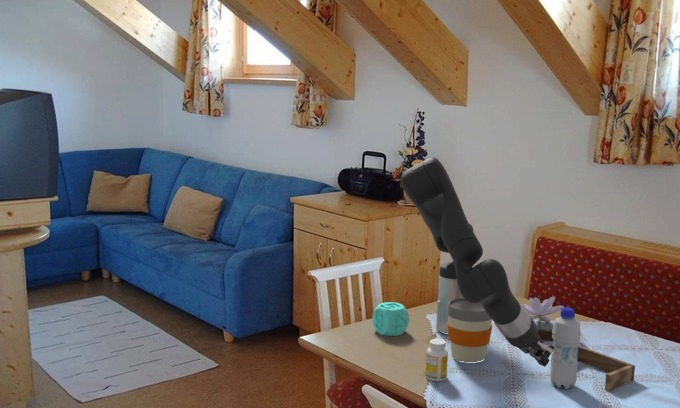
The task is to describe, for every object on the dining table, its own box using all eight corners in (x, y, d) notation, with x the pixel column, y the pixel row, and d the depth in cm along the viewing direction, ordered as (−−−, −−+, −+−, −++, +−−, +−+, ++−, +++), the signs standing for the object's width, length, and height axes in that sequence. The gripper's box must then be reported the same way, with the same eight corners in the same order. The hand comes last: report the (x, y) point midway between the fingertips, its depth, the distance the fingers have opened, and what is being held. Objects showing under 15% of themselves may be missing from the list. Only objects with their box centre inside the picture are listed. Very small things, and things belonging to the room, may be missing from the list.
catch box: (608, 391, 171) (609, 375, 170) (550, 368, 184) (551, 353, 184) (633, 380, 177) (635, 365, 177) (576, 358, 191) (577, 345, 190)
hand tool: (577, 341, 205) (578, 326, 204) (579, 346, 201) (580, 330, 200) (511, 336, 209) (512, 321, 208) (511, 340, 205) (512, 325, 204)
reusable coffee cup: (462, 345, 200) (465, 294, 197) (500, 357, 191) (503, 305, 188) (435, 356, 191) (437, 303, 188) (473, 370, 182) (476, 315, 180)
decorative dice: (409, 333, 209) (409, 307, 208) (388, 338, 204) (388, 311, 203) (392, 325, 215) (393, 300, 214) (371, 330, 211) (372, 304, 210)
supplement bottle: (427, 382, 174) (429, 345, 173) (423, 373, 180) (424, 337, 178) (449, 381, 175) (450, 345, 173) (443, 372, 180) (445, 337, 179)
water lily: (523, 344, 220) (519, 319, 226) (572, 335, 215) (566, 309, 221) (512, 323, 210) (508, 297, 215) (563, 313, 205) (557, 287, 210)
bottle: (544, 379, 177) (549, 304, 173) (570, 379, 177) (575, 303, 174) (554, 391, 170) (560, 312, 167) (581, 390, 171) (587, 312, 167)
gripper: (484, 327, 163) (515, 366, 172) (529, 345, 152) (560, 385, 161) (500, 302, 165) (530, 341, 174) (546, 317, 154) (576, 358, 164)
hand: (544, 362), depth 168 cm, fingers closed
